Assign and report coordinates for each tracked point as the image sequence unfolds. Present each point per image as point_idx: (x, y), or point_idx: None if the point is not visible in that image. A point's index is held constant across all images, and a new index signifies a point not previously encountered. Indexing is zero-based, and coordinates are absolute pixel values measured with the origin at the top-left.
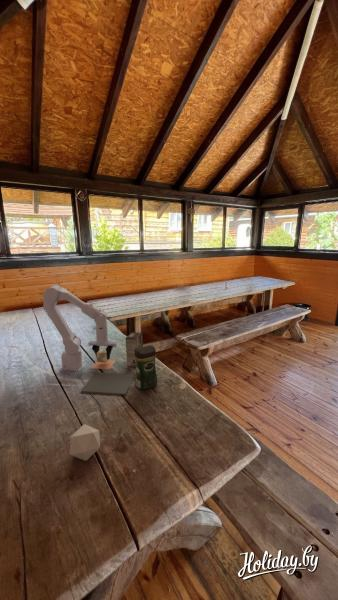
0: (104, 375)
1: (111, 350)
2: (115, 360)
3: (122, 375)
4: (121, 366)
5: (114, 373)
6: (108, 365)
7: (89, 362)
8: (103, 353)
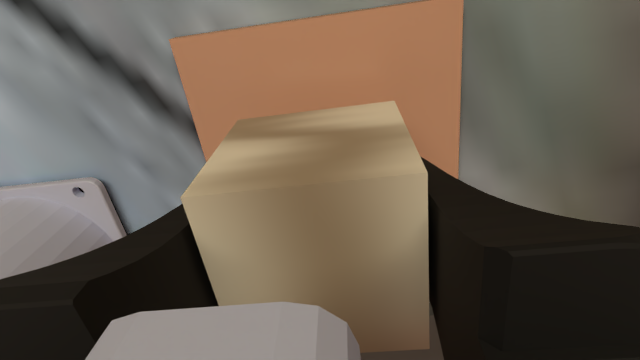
0: None
1: (507, 205)
2: (455, 10)
3: None
4: (577, 132)
5: None
6: None
7: (104, 125)
8: (372, 344)
